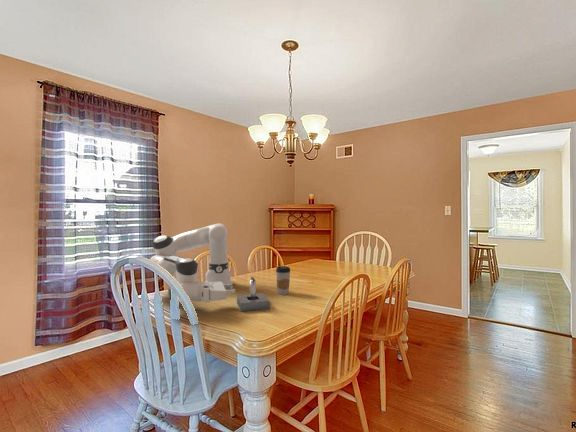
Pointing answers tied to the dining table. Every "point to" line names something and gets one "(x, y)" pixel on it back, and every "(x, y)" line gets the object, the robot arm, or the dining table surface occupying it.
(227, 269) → the robot arm
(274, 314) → the dining table surface
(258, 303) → the block
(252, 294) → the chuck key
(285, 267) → the coffee cup
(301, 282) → the dining table surface
